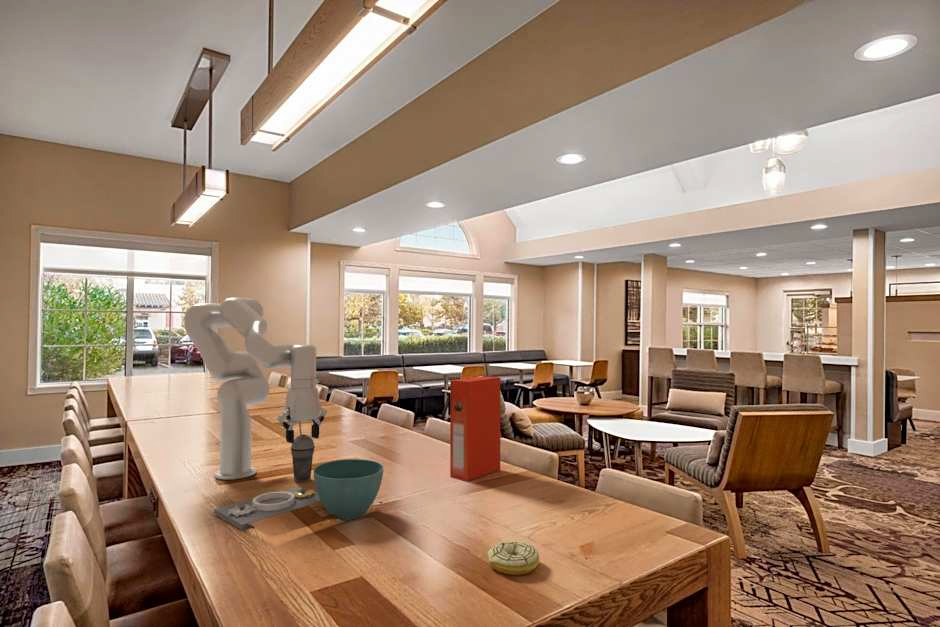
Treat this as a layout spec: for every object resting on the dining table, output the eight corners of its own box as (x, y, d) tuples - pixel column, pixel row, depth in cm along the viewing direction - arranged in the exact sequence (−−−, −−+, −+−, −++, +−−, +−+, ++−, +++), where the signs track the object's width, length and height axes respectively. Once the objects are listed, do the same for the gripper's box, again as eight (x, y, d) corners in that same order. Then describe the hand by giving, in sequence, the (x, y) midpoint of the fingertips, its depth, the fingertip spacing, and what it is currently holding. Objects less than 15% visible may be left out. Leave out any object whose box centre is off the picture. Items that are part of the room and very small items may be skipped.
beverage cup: (307, 489, 159) (307, 423, 159) (285, 487, 160) (286, 422, 161) (318, 482, 166) (319, 419, 166) (297, 480, 168) (298, 418, 168)
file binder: (449, 476, 173) (450, 380, 173) (482, 465, 186) (482, 376, 187) (468, 481, 168) (469, 382, 168) (500, 470, 181) (501, 377, 181)
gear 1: (222, 512, 135) (222, 506, 135) (248, 505, 141) (248, 499, 141) (234, 519, 131) (234, 513, 131) (261, 512, 136) (261, 505, 136)
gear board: (214, 514, 138) (214, 503, 138) (299, 491, 157) (299, 481, 157) (242, 530, 128) (242, 518, 128) (330, 504, 146) (330, 493, 147)
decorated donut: (495, 552, 117) (495, 535, 118) (543, 559, 114) (543, 542, 114) (482, 573, 108) (482, 554, 108) (533, 581, 104) (533, 562, 104)
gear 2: (285, 495, 149) (285, 490, 149) (307, 489, 154) (307, 484, 154) (298, 501, 144) (298, 495, 144) (320, 495, 149) (320, 489, 149)
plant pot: (394, 506, 145) (395, 462, 145) (360, 531, 128) (360, 481, 128) (338, 499, 151) (338, 456, 151) (298, 522, 134) (298, 473, 134)
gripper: (320, 380, 173) (320, 433, 172) (271, 385, 160) (270, 443, 159) (334, 382, 168) (333, 437, 168) (283, 387, 155) (283, 447, 154)
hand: (302, 439), depth 163 cm, fingers open, 8 cm apart
